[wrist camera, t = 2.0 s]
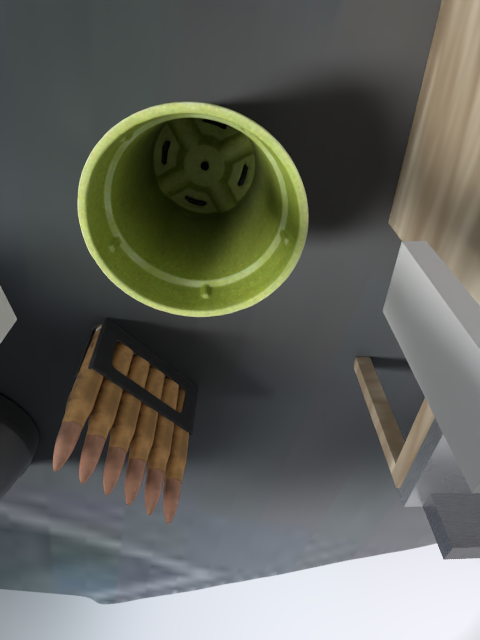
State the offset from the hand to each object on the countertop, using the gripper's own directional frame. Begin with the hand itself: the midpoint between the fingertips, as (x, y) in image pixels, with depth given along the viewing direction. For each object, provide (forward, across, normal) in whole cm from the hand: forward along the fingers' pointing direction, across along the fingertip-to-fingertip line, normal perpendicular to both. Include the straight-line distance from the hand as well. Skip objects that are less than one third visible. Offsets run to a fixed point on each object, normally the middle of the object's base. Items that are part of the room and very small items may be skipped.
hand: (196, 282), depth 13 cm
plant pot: (+13, 0, 0) cm, 13 cm away
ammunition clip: (+13, -6, -16) cm, 22 cm away
